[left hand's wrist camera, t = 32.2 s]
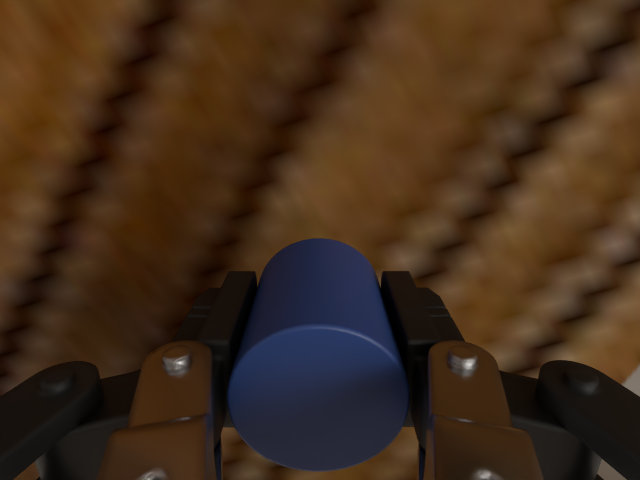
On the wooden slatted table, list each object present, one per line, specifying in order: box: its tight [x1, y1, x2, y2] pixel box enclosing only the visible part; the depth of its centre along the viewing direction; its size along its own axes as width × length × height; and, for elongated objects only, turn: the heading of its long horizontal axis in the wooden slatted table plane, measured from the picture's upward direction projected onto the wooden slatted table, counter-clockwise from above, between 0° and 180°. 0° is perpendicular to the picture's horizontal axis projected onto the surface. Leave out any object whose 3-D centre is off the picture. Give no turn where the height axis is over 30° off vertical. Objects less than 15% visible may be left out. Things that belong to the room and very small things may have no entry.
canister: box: [227, 239, 410, 471], centre depth 10 cm, size 4×4×5 cm
